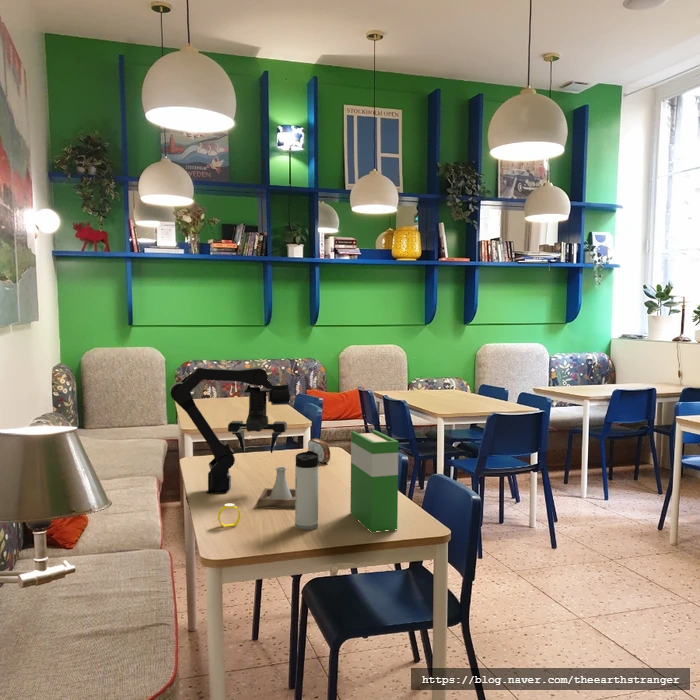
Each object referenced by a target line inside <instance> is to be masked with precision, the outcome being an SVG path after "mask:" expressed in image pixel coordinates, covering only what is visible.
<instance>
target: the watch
mask: <svg viewBox="0 0 700 700" xmlns="http://www.w3.org/2000/svg"><path fill="white" fill-rule="evenodd" d="M227 509H235V510H236V511H237V515H238V516H237V519H236V520H235V521H234V523H226V524H224V523H222V521H221V515H222V512H223V511H224V510H227ZM241 515H242V514H241V511H240V510H239V508H238V507H237V505H235V503H225V504H224V505H223V506H222V507H221V508H220V509H219V511H218V513H217V521H218V522H219V525H220V526H222V527H223V528H230V527H236V525H237V524H239V522H240V521H241Z"/></svg>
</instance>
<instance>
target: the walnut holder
mask: <svg viewBox="0 0 700 700" xmlns="http://www.w3.org/2000/svg"><path fill="white" fill-rule="evenodd" d="M272 490H273V488H272V487H271V488H269V487H268V488H265V487H264V490H263V491H262V493H261V494H260V496H259V497H258V502H257V504H258V506H257V507H258V508H263V507H277V508H276V509H279V508H278V507H280V509H295V488H289V490H290V493H291V495H292V498H293V499H277V498H270V496H271V493H272Z"/></svg>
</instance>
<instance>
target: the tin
mask: <svg viewBox="0 0 700 700" xmlns="http://www.w3.org/2000/svg"><path fill="white" fill-rule="evenodd" d="M307 448H308V449H307V451H314V453H317V454H318V461H319V462H318V463H320V462H321V463H320V464H325V462H327V463H329V462H330V460H331V449H330V446H329V444H328V443H327V442H326V441H325V440H322V439H319V438H316V437H315V438H312V439H310V440H308V442H307Z"/></svg>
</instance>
